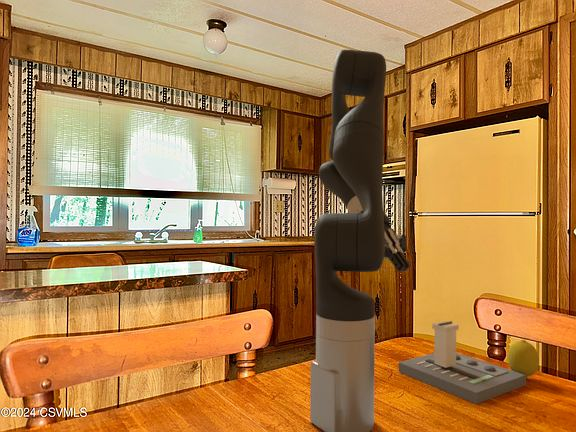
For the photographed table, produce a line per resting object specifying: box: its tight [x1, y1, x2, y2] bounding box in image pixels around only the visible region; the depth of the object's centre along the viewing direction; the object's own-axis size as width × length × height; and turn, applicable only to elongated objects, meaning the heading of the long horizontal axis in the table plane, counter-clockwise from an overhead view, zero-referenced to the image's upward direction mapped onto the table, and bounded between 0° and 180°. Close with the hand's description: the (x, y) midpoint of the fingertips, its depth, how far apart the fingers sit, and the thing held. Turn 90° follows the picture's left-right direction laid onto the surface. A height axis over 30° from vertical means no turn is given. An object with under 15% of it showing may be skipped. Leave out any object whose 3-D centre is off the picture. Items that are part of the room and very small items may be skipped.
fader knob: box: [431, 321, 460, 368], centre depth 87 cm, size 4×3×8 cm
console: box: [398, 352, 527, 405], centre depth 86 cm, size 16×18×3 cm
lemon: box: [507, 339, 540, 378], centre depth 86 cm, size 6×6×8 cm
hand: (404, 269), depth 96 cm, fingers closed
